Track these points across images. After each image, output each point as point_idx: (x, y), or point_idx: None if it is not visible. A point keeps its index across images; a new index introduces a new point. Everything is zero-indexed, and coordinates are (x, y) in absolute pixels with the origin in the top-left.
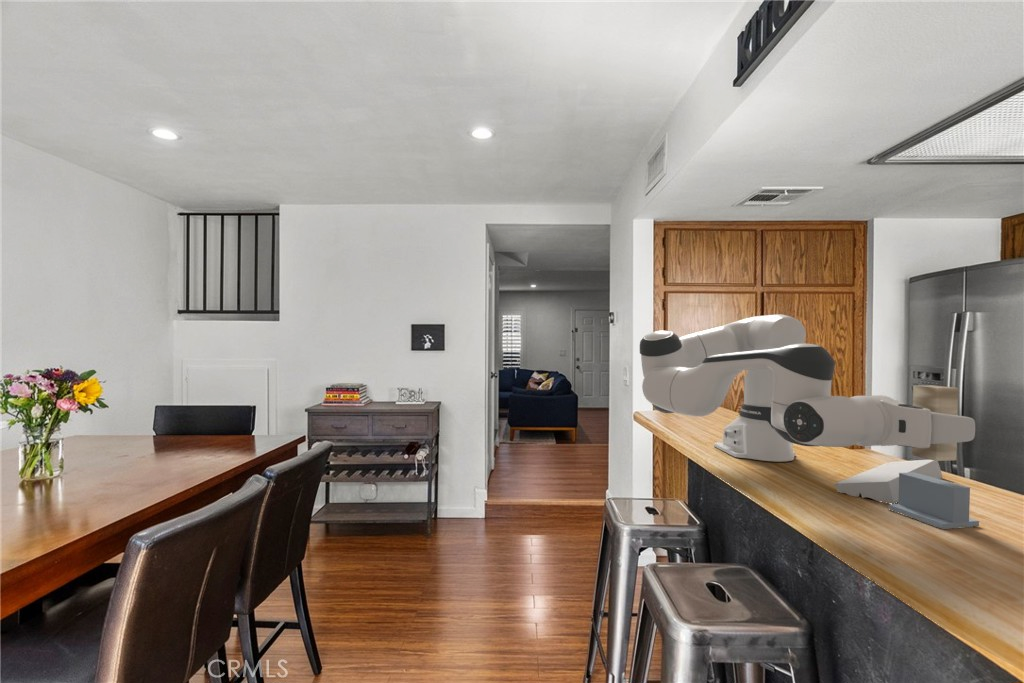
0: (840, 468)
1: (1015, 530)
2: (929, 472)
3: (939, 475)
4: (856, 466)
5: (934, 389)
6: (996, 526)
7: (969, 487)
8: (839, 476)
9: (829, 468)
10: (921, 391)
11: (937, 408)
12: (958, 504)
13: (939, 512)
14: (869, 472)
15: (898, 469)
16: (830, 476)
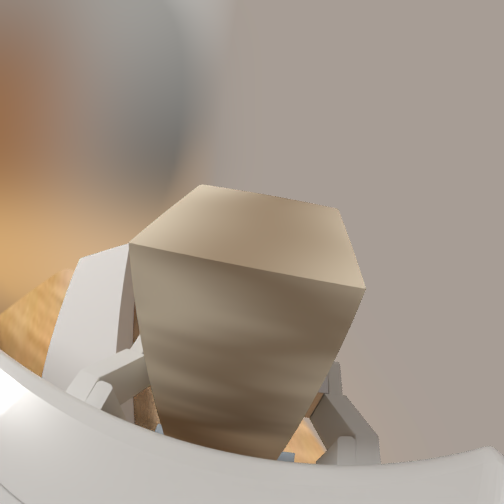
0: (29, 304)
1: (305, 423)
2: (130, 280)
3: None
4: (47, 282)
5: (330, 299)
6: None
7: (294, 453)
8: (29, 346)
9: (17, 314)
10: (202, 300)
11: (311, 400)
12: None
13: None
14: (62, 332)
15: (97, 310)
16: (18, 356)
